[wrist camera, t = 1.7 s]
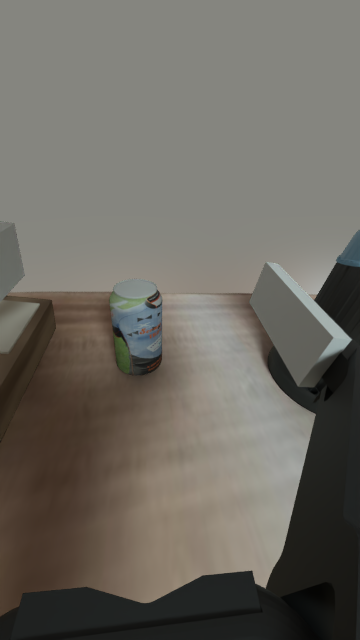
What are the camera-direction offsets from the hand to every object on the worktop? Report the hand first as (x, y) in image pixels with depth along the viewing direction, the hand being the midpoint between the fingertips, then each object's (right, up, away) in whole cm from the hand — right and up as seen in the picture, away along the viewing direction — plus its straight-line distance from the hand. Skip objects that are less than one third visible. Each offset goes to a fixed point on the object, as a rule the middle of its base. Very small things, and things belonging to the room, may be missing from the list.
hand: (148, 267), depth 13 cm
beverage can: (-5, -9, +21) cm, 23 cm away
